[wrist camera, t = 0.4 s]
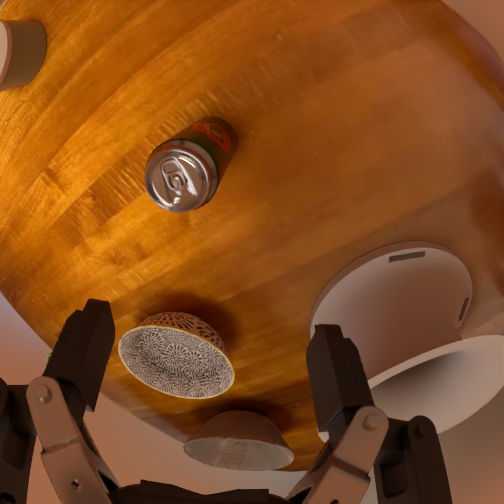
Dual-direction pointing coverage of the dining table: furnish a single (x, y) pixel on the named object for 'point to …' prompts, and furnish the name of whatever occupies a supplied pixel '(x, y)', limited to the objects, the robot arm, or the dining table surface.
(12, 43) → the canister
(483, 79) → the dining table surface
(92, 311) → the robot arm
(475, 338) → the vase
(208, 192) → the soda can
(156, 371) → the bowl
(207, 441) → the ceramic bowl
